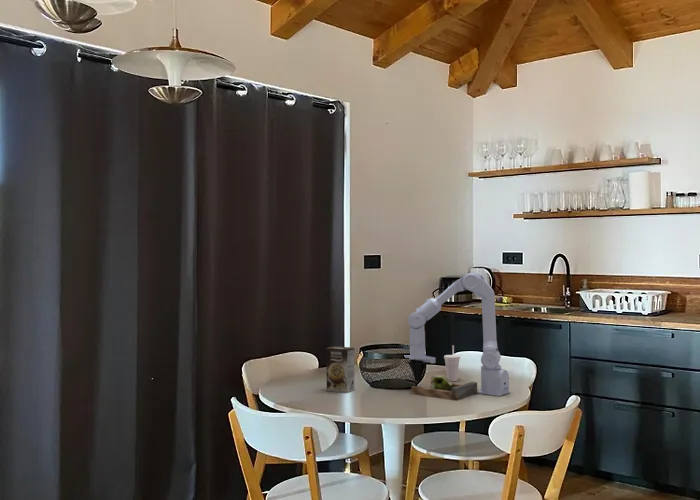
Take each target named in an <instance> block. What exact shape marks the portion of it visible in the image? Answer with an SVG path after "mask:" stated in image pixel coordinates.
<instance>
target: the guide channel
mask: <svg viewBox="0 0 700 500" xmlns="http://www.w3.org/2000/svg"><path fill="white" fill-rule="evenodd" d="M431 382H432V381H430V383H431ZM451 383H452V382H451ZM452 384H453V385H452V388H451V389H452V391H450V390H447V389H446V390H438V389H431V388H430V387H421V386H417V385H416V386H415V385H413V386H411V394H412V395H419V396H426V397H431V398H432V397H433V398H438V399H444V400H451V401H459V400H463V399H465V398H468V397H472V396H474V395H478V393H477V391H478V382H475V381H471V382H467V383H463V384H462V383H461V384H459V383H455V382H454V383H452Z"/></svg>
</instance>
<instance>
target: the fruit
mask: <svg viewBox="0 0 700 500" xmlns="http://www.w3.org/2000/svg"><path fill="white" fill-rule="evenodd" d="M446 377H447V376H444V375H443V374H436V375H435V374H434V375H432V376H431V378H430V380H431V381H432V382H431V381H430V387H429V388H431V389H438V390H445V391H449V390H450V391H452V389H451V388H452V385H453V384H452V381H450V379H447V378H446ZM446 389H447V390H446Z"/></svg>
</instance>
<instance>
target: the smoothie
mask: <svg viewBox="0 0 700 500" xmlns="http://www.w3.org/2000/svg"><path fill="white" fill-rule="evenodd" d="M451 347H452V354H446V355H444V356H443V359H444V363H445V370H446V377H447V379H450V382H457V381H458V376H459V375H458V374H459V367H460V366H459V365H460V360H461V355H458V354H455V345H453V344H452V346H451Z"/></svg>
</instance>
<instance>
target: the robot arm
mask: <svg viewBox="0 0 700 500" xmlns="http://www.w3.org/2000/svg"><path fill="white" fill-rule="evenodd" d="M467 290H468V291H470V292H472V293H475V295H476V296H478V297H479V298H480V300H481V313H482V316H481V317H482V337H483V338H482V339H483V341H482V343H483V345H482V351H483V352H482V355H481V358H480V363H481V365H480V382H481V383H480V384H481V385H480V388H481V389H480V390H477V394H483V395H488V396H495V397H496V396H497V397H501V396H504V395H507V394H510V393H511V391H510V375H509V372H508V370H506V369H503V368H502V365H501V364H500V361H501V359H502V358H501V353H500V351H499V349H498V341H497V324H496V323H497V322H496V321H497V320H496V300H495V299H496V296H495V291H494V290H493V288H492V287H491V286H490V284H489V282H487V279H486V278H485V277H484V276H483V275H481V274H480V273H479V272H475V271H473V272H472V271H471V272H468V273H466V274H464V276H462V277H461V278H459V279H456V280H455V281H454V282H453V283H452V284H450V285H449V286H448V287H447V288H446V289H445V290H444V291H443V292H441V293H440V294H439V295H438V296H437V297H436V298H435V297H431V298H426V299H425V300H424V302H423V304H421V305H420V307H417V308H415V311H412V312H411V313H410V314H409V316H408V318H407V322H408V325H409V354H410V355H404V357H405V358H409V360H408V366H409V367H410V369H411V371H412V374H413V377H414V381H415V382H420V381H422V377H423V373H424V370H425V368H426V366H427V364H428V363H430V364H436V357H434V356H429V355H426V331H425V324H426V323H427V321H429V320H431V319H432V318H433V317H434V316H436V315H437V314H438V313H439V312H441V310H442V305H443V304H445V302H447V301H448V300H449V299H451V297H454V295H456V294H457V293H459V292H464V291H467ZM409 361H410V362H409Z"/></svg>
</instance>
